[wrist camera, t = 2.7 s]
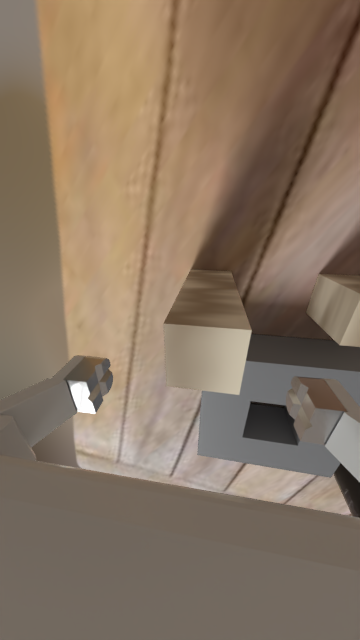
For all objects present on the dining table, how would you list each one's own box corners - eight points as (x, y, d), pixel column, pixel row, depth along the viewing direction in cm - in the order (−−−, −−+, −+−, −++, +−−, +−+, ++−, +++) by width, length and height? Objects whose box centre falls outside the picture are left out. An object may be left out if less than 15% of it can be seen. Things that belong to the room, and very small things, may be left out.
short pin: (366, 275, 17) (432, 298, 12) (348, 315, 19) (400, 350, 14) (318, 273, 18) (361, 294, 13) (305, 312, 20) (339, 345, 14)
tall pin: (230, 270, 19) (251, 330, 8) (226, 307, 21) (239, 394, 10) (190, 269, 20) (163, 323, 9) (190, 305, 21) (166, 386, 11)
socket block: (359, 342, 20) (399, 375, 16) (312, 436, 27) (330, 477, 23) (206, 330, 22) (204, 356, 18) (199, 420, 30) (197, 454, 25)
